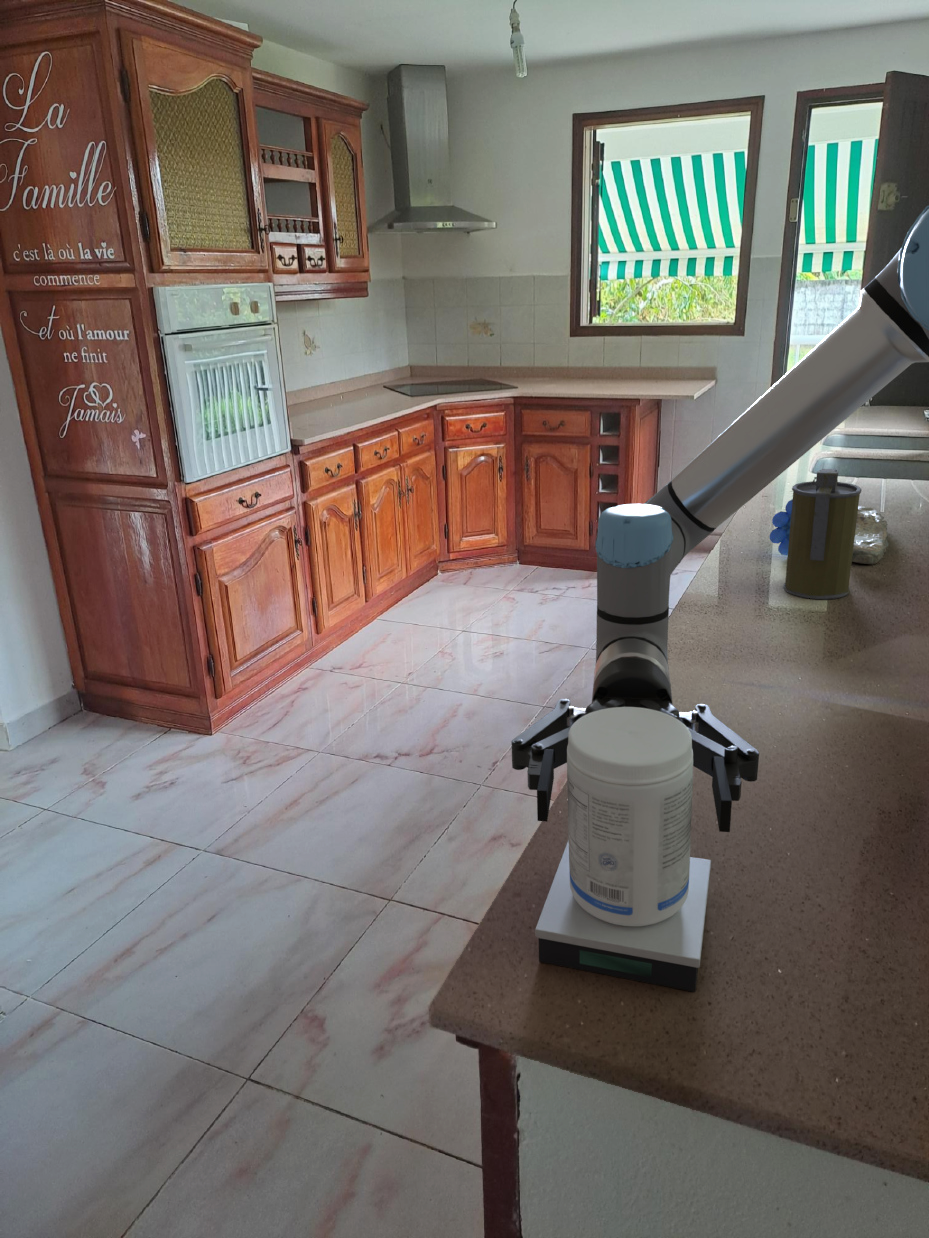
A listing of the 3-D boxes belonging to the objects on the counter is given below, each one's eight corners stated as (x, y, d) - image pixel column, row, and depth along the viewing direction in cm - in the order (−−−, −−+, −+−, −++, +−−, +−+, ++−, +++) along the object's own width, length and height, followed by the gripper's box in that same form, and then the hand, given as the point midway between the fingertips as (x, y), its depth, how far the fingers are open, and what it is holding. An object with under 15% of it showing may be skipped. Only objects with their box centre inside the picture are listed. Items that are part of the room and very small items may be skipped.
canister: (787, 577, 154) (797, 464, 147) (851, 583, 150) (865, 466, 143) (779, 596, 145) (789, 476, 138) (847, 603, 141) (861, 480, 134)
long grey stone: (830, 570, 161) (890, 577, 158) (835, 543, 159) (895, 549, 155) (831, 514, 190) (881, 519, 187) (835, 491, 188) (886, 495, 185)
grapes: (832, 552, 167) (839, 490, 163) (834, 562, 161) (841, 498, 157) (768, 549, 171) (773, 488, 167) (767, 559, 165) (772, 496, 161)
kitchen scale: (709, 891, 76) (711, 859, 75) (697, 995, 65) (700, 959, 64) (568, 869, 80) (568, 838, 79) (535, 963, 69) (534, 929, 68)
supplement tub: (659, 849, 77) (665, 697, 72) (709, 920, 68) (719, 753, 63) (552, 867, 75) (551, 713, 70) (589, 942, 66) (590, 772, 61)
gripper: (762, 730, 85) (801, 863, 65) (506, 720, 89) (471, 842, 70) (767, 658, 82) (810, 775, 63) (503, 652, 87) (467, 759, 67)
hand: (632, 811), depth 66 cm, fingers open, 13 cm apart
